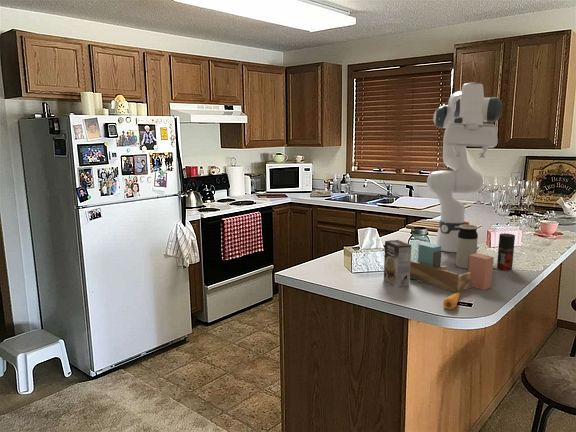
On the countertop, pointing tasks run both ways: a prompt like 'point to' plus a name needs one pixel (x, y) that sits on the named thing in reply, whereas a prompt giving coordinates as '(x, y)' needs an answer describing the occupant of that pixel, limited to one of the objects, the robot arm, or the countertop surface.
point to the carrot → (451, 301)
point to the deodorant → (505, 252)
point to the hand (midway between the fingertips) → (469, 157)
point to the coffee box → (397, 262)
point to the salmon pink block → (480, 270)
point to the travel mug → (466, 244)
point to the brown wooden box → (439, 277)
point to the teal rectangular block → (429, 254)
